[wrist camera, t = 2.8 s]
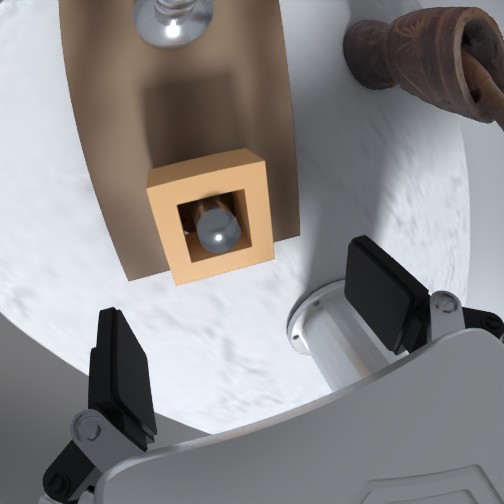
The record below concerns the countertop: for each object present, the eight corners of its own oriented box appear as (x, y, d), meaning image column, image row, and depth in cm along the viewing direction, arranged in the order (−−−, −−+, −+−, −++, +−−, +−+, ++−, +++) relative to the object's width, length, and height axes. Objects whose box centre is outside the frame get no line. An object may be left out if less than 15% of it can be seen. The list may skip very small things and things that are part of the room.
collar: (245, 148, 20) (264, 160, 16) (256, 232, 23) (274, 258, 20) (148, 170, 18) (146, 188, 15) (171, 254, 22) (176, 286, 19)
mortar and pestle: (424, 96, 26) (585, 153, 9) (378, 136, 27) (556, 223, 10) (378, 6, 19) (568, 7, 3) (319, 39, 20) (550, 39, 4)
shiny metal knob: (229, 155, 22) (258, 181, 16) (238, 215, 24) (267, 260, 19) (161, 170, 21) (164, 204, 15) (177, 231, 24) (186, 282, 18)
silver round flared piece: (204, -17, 14) (227, -58, 8) (213, 43, 17) (239, 21, 11) (131, -4, 13) (121, -44, 7) (139, 57, 16) (130, 39, 10)
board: (261, -42, 15) (270, -50, 13) (291, 226, 29) (300, 235, 27) (65, -8, 12) (58, -15, 10) (129, 268, 26) (128, 281, 24)
